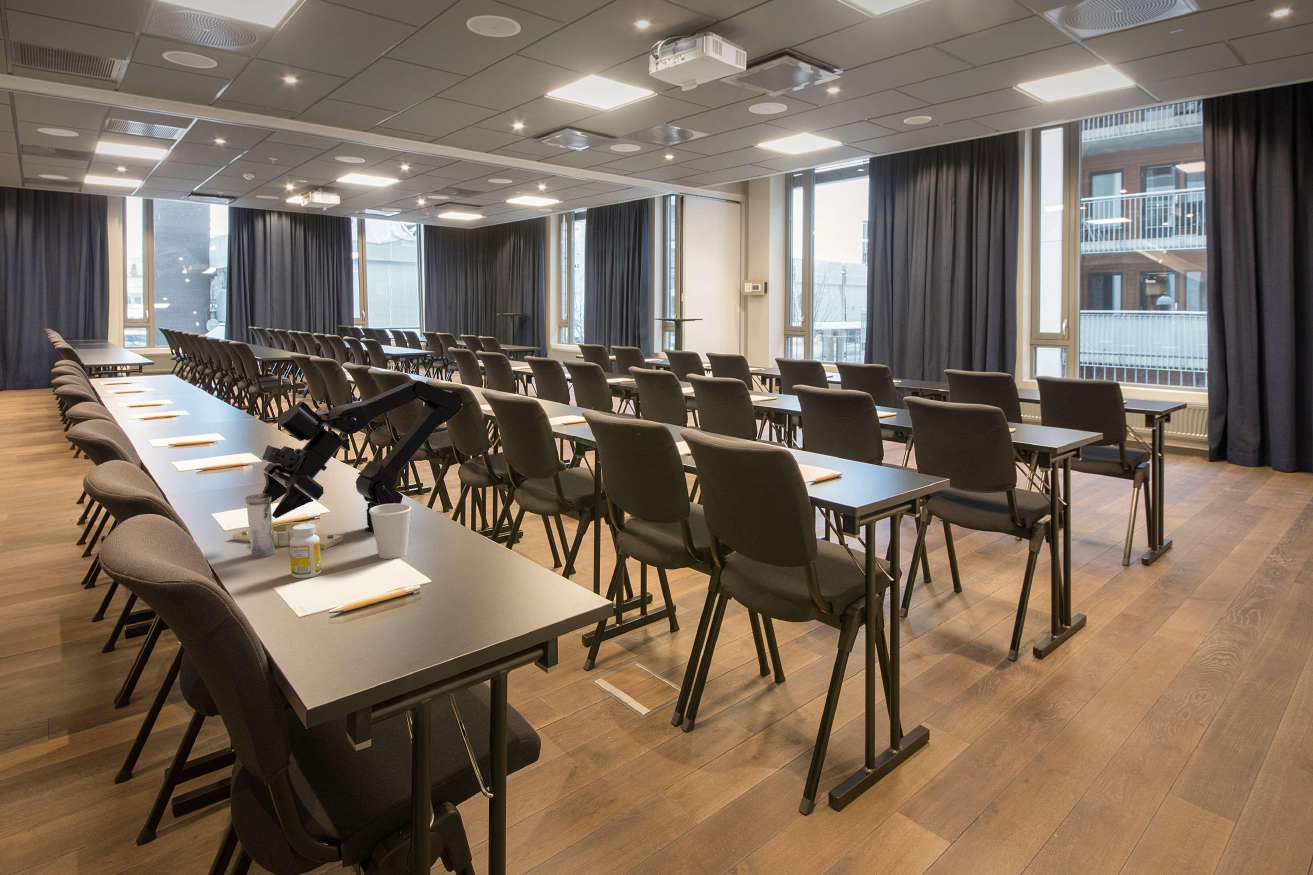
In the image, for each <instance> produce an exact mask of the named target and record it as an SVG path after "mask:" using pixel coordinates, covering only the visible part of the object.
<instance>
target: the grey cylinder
mask: <svg viewBox="0 0 1313 875" xmlns="http://www.w3.org/2000/svg"><path fill="white" fill-rule="evenodd" d="M244 499H245V501H244V502H245V504H246V509H247V520H248V521H247V522H248V529H249V534H250V554H251V555H250V556H251V558H255V559H261V558H263V559H264V558H268V557H272V556H274V555H275V554H276V550H275V548H276V547H275V546H274V536H273V525H274V524H273V516H272V514H273V512H272V503H271V495H270V494H262V493H258V494H257V493H255V494H251V495H247V496H245V497H244Z"/></svg>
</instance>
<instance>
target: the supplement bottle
mask: <svg viewBox="0 0 1313 875" xmlns="http://www.w3.org/2000/svg"><path fill="white" fill-rule="evenodd" d="M292 532H293V535H294V537H292V538H291V539H290V542H289V556H290V570H291V572H290V573H291V576H292V577H293V578H297V579H308V578H313V577H316V576H318V575H320V574H321V573H322V559H321V549H320V539H319V537H318V536H317V535H315V534H314V533H316V532H317V530H316V525H315V524H314V523H305V524H299V525H296V526H294V527H293V528H292Z"/></svg>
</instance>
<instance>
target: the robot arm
mask: <svg viewBox="0 0 1313 875" xmlns="http://www.w3.org/2000/svg"><path fill="white" fill-rule="evenodd" d="M415 400H419V401H420V402H421V403H422V402H423V408H422V410H421V411H422V412H421V414H420V416H419V417H418V418H417V419H416V421H414V423H413V424H412V425H411V426H410V428H409V429H408V430H407V431H406V432H405V433H404V435H402V437H401V438H400V439H399V441H397V443H396V444H395V445H394V446H393V447H392V448H391V450H390V451H389V452H388V453H387V454H386V456H384V457H383V458H382V459H381V460H380V461H378V462H375V461H372V460H369V461H368V462H367V463H366V465H365V467H363V469H362V470H360V471H359V472H357V475H358V477H357V478H356V481H355V488H356V490H357V492H358V493H359V495H361V496H362V497H363V499H364V501H365V502H368V503H367V504H366V505H367V508H366V510H365V511H366V525H367V527H365V528H364V531H365V532H366V531H367V532H374V529H373V524H372V519H371V514H370V513H369V510H370V509H371V508H372V507H375V506H378V505H383V504H395V503H398V504H402V501H403V497H404V495H403V494H402V493H401V492H400V491H398V490H397V489H396V488H395V487H396V485H397V484H398V479H399V477H400V474H401V471H402V470H403V469H404V467H405V466H406V465H407V463H408V462H409V461H410V460H411V459H412V458H413V457H414V455H416V453H417V452H418V451H419V449H421V447H422V446H423V445H424V444H425V443H426V441H427V440H428V439H429V438H430V437H431V436H432V434H433V433H434V432H435V431H436V430H437V429H438V427H440V426H441V425H444V424H446V423H447V422H448V421H451V420H452V419H453V418H455V416H456V415H458V414H460V412H461V410H462V409H463V408H464V407H463V406H464V404H463V397H462V396H461V394H459V392H457V391H453V390H447V389H442V388H439V387H436V386H434V385H431V384H429V383H427V382H425V381H423V380H419V379H410V380H408V381H407V382H405V383H404V384H401V385H398V386H396V387H394V388H392V389H389V390H387V391H384V392H382V393H380V394H378V395H375V396H373V397H370V398H367V399H365V400H361V401H359V402H358V401H357V402H351V403H346V404H340V405H337V406H334V407H332V408H331V409H330V410H329V411H328V412H326V413H320V414H318V413H316V411H314V410H313V409H312V408H311V407H310V406H309V405H308V404H307V403H306V402H305V401H302V400H299V401H298V402H297V403H296V404H295V405H292V406H290V407H289V408H288V409H287V410H284V411H283V412H282V414H281V415H280V416H279V417H278V420H277V424H278V425H279V426H280V427H281V428H282V429H284V430H285V432H287V433H289V434H290V435H291V436H292V437H294V438H295V439H296V440H298V441H299V442H302V441H307V443H306V444H305V445H304V446H303V447H302V448H295V449H294V448H292V447H290V446H285V445H284V446H283V447H281V448H278V447H274V446H272V445H269V444H268V445H267V446H266V448H265V451H264V453H263V456H262V458H261V460H264V461H266V462H269V463H268V464H267V465H266V466H265V467H264V468H263V471H264V472H263V476H264V478H265V486H264V488H263V491H262V493H261V494H270V495H271V504H272V503H273V502H275V501H277V500H278V499H280V498H281V500H280V501H279V503H278V504H277V506H276V507H275V509H274V511H273V512H272V518H275V519H278V518H280V517H282V516H284V515H286V514H288V513H290V512H292V511H294V510H296V509H298V508H300V507H302V506H304V505H306V504H309V503H313V502H314V501H315V500H316V501H319V500H320V498H321V497H322V496H323V495H324V493H325V492H324V486H323V485H321V484H319V483H318V482H317V481H316V480H314V478H315V477H317V475H318V473H320V471H323V472H325V471H326V470H327V468H328V466H326V464H328V462H329V461H330V460H331V458H332V457H333V456H334V455H335V453H336V452H337V451H338V450H339V449H341V450H343V451H347V452H350V451H351V445H350V438H348V437H341V436H340V435H339V434H338V433H342V434H345V435H353V434H356V433H358V432H360V431H361V430H363V429H365V428H366V427H367V426H369V425H370V423H371V422H372V421H374V419H376V418H377V417H379V416H382V415H384V414H385V413H388V412H391V411H393V410H394V409H397V408H399V407H401V406H403V405H406V404H408V403H410V402H413V401H415ZM323 426H324V427H326V428H331V430H327V429H326V428H324V427H323ZM335 431H336V432H335ZM337 432H338V433H337ZM282 496H283V497H282Z"/></svg>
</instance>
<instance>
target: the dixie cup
mask: <svg viewBox="0 0 1313 875" xmlns="http://www.w3.org/2000/svg"><path fill="white" fill-rule="evenodd" d="M411 510H412V507H411V506H410V505H409V504H406V503H401V504H398V503H395V504H383V505H378V506H375V507H372V508H371V509H370V510H369V513H370V514H371V519H372V524H373V529H374V531H373V534H374V539H375V544H376V550H377V554H378V557H379V558H381V559H386V560H387V559H388V560H389V559H391V560H392V558H393V559H398V558H397V557H399V558H402V557H405V556H407V554H408V543H409V531H410V530H409V529H410V521H411V520H410V518H411Z"/></svg>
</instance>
